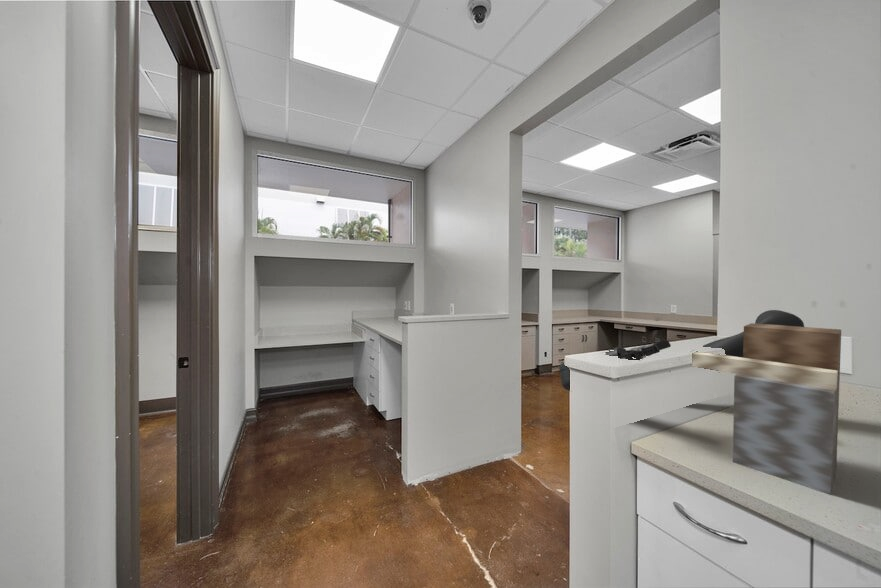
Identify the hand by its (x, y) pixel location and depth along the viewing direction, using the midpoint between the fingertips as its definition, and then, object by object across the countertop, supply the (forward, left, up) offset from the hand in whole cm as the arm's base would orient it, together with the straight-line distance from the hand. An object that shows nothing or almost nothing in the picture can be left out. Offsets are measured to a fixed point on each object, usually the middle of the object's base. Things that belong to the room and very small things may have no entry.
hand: (663, 345), depth 91 cm
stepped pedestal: (+8, +22, -25) cm, 35 cm away
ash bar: (+9, +17, -4) cm, 20 cm away
